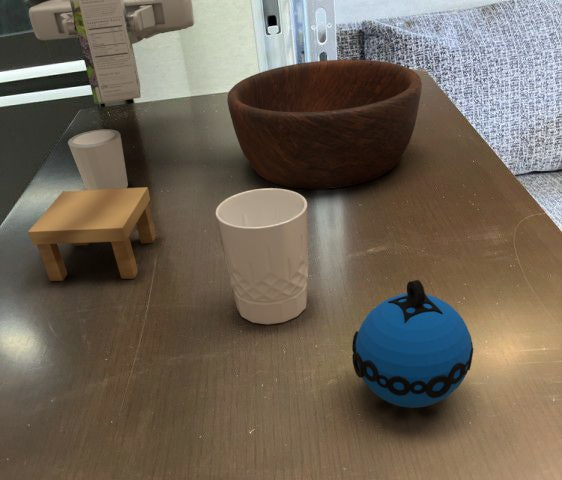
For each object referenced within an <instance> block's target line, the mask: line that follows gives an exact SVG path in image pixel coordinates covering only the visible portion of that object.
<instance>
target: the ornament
mask: <svg viewBox="0 0 562 480" xmlns="http://www.w3.org/2000/svg"><path fill="white" fill-rule="evenodd" d="M423 285H424V284H422V282H421V281H420V280H419V279H415V280H411V281H408V282H407V285H406V293H400V294H398V295H394V296H392V297H390V298H388V299H385V300H383V301H382V302H380V303H379V304H377V305H376V306H375V307H374V308H373V309H371V310H370V312H369V313H368V314H367V315H366V317H365V318H364V320H362V323H361V325H360V326H359V329H358V330H357V331H355V332H354V335H353V337H352V345H351V348H352V352H353V353H352V356H351V357H352V366H353V369H354V372H355V374H356V376H357V377H358V378H359V379H362V381H363V382H364V383H365V385H366V386H367V387H368V388H369V390H370V391H371V392H372V393H373V394H374V395H375V396H377V397H379V398H380V399H381V400H383V401H385V402H387V403H389V404H391V405H394V406H397V407H402V408H412V409H413V408H415V409H416V408H425V407H429V406H432V405H434V404H435V405H436V404H437V403H439V402H442V401H443V400H445V399H446V398H448V397H449V396H451V394H452V393H454V392H455V391H456V390H457V389H458V388H459V387H460V385H461V384H462V383H463V381H464V379H465V378H466V376H467V374H468V371H471V366H472V362H473V356H474V346H473V340H472V336H471V333H470V331H469V328H468V326H467V324H466V322H465V320H464V319H463V317H462V316H461V314H459V312H458V311H457V310H456V309H455V308H454V307H452V306H451V305H450V304H449V303H447V302H446V301H444V300H442V299H440V298H438V297H436V296H433V295H431V294H426V292H425V288H424V286H423Z"/></svg>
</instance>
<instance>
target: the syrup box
mask: <svg viewBox="0 0 562 480" xmlns="http://www.w3.org/2000/svg"><path fill="white" fill-rule="evenodd" d="M70 4H71V8H72V12H73V16H74V21H75V25H76V29H77V33H78V37H77V38H78V41H79V45H80V48H81V53H82V57H83V61H84V65H85V69H86V74H87V77H88V81H89V85H90V90H91V93H92V98H93V103H94V104H96V105H101V104H108V103H115V102H123V101H127V100H135V99H140V98H141V82H140V76H139V71H138V67H137V62H136V56H135V52H134V47H133V44H132V41H131V36H130V32H129V31H128V28H127V22H126V18H125V14H126V11H125V6H124V1H123V0H70Z"/></svg>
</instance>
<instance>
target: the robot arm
mask: <svg viewBox="0 0 562 480" xmlns="http://www.w3.org/2000/svg"><path fill="white" fill-rule="evenodd" d="M123 1H124V6H125V11H126V14H125V18H126V22H127V28H128V31H129V32H130V36H131V41H132V45H135V44H137V43H140V42H141V41H143V40H144V39H145V40H147V39H150V38H152V37H154V36H156V35H160V34H166V33H170V32H176V31H181V30H186V29H188V28H192V27H193V26H194V25H195V15H194V8H193V3H192V2H193V1H192V0H123ZM28 2H30V4H32V5H33V6H32V7H30V8H29V10H28V16H29V20H30V23H31V27H32V30H33V34H34V36H35V37H36V38H37V40H40V41H53V40H63V39H72V38H79V37H78V33H77V29H76V25H75V21H74V16H73V12H72V8H71V4H70V0H28Z"/></svg>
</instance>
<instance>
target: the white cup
mask: <svg viewBox="0 0 562 480" xmlns="http://www.w3.org/2000/svg"><path fill="white" fill-rule="evenodd" d="M215 218H216V222H217V223H216V224H217V227H218V232H219V237H220V241H221V247H222V251H223V256H224V261H225V265H226V269H227V272H228V278H229V282H230V287H231V289H232V291H233V297H234V301H235V306H236V309H237V311H238V313H239V315H240V317H242V319H243V318H244V319H245V320H247V321H249V322H250V323H254V324H261V325H275V324H282V323H286V322H288V321H290V320H292V319H295V318H297V317H298V316H299V315H300V314H301V313H302V312H304V311H305V310H306V308H307V303H308V280H309V233H308V232H309V230H308V229H309V228H308V202H307V199H306V198H305V197H304V196H303V195H302V194H300V193H299V192H296V191H293V190H291V189H290V190H289V189H284V188H277V187H275V188H273V187H270V188H268V187H267V188H257V189H250V190H245V191H242V192H239V193H236V194H234V195H231V196H229V197H227V198H226V199H224V200H223V201H221V202H220V203H219V204H218V205H217V207H216V209H215Z"/></svg>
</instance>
